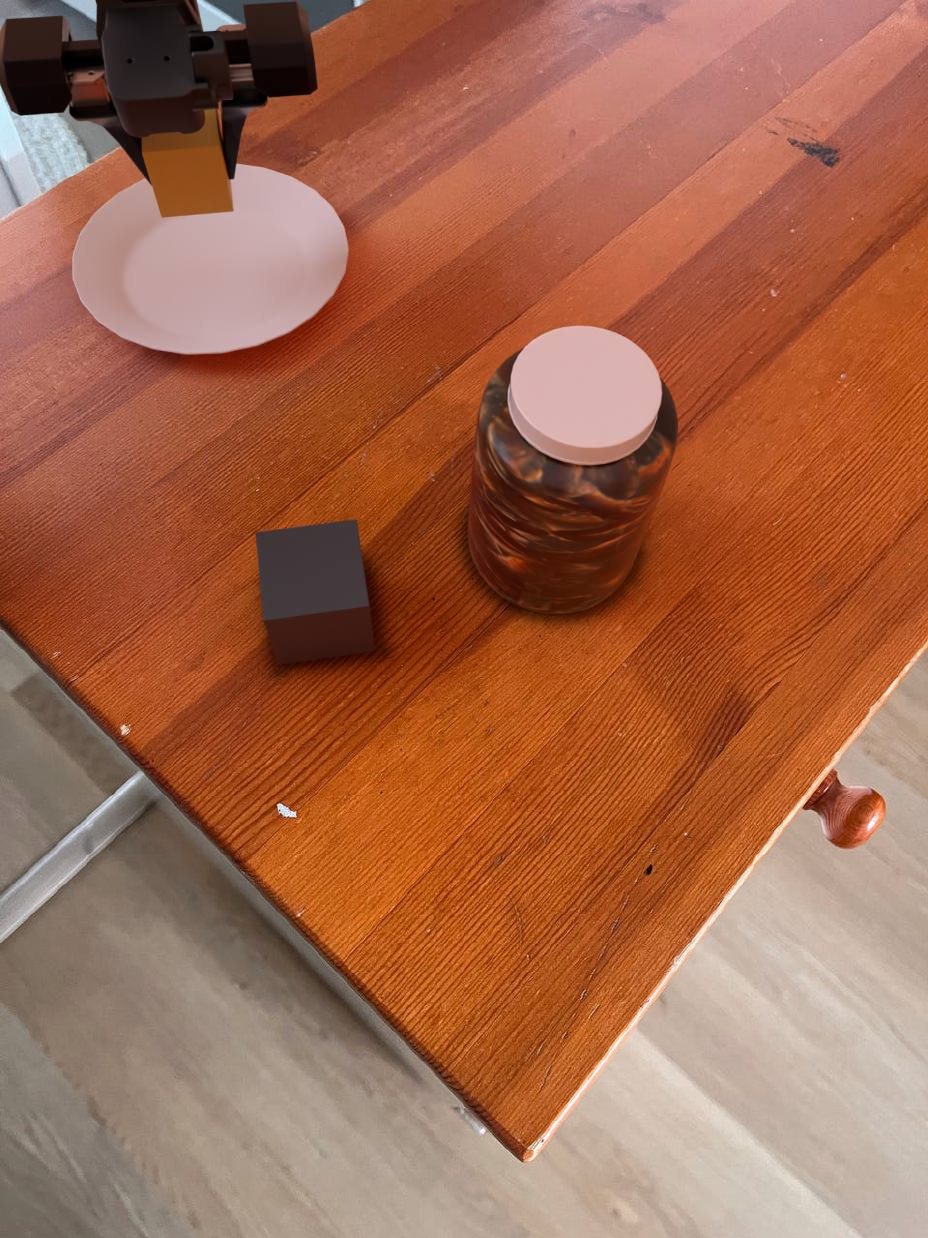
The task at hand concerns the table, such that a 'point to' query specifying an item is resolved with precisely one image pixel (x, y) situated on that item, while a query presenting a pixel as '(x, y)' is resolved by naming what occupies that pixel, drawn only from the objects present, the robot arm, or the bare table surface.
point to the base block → (314, 591)
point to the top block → (189, 170)
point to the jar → (568, 468)
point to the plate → (211, 265)
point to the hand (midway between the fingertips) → (192, 178)
